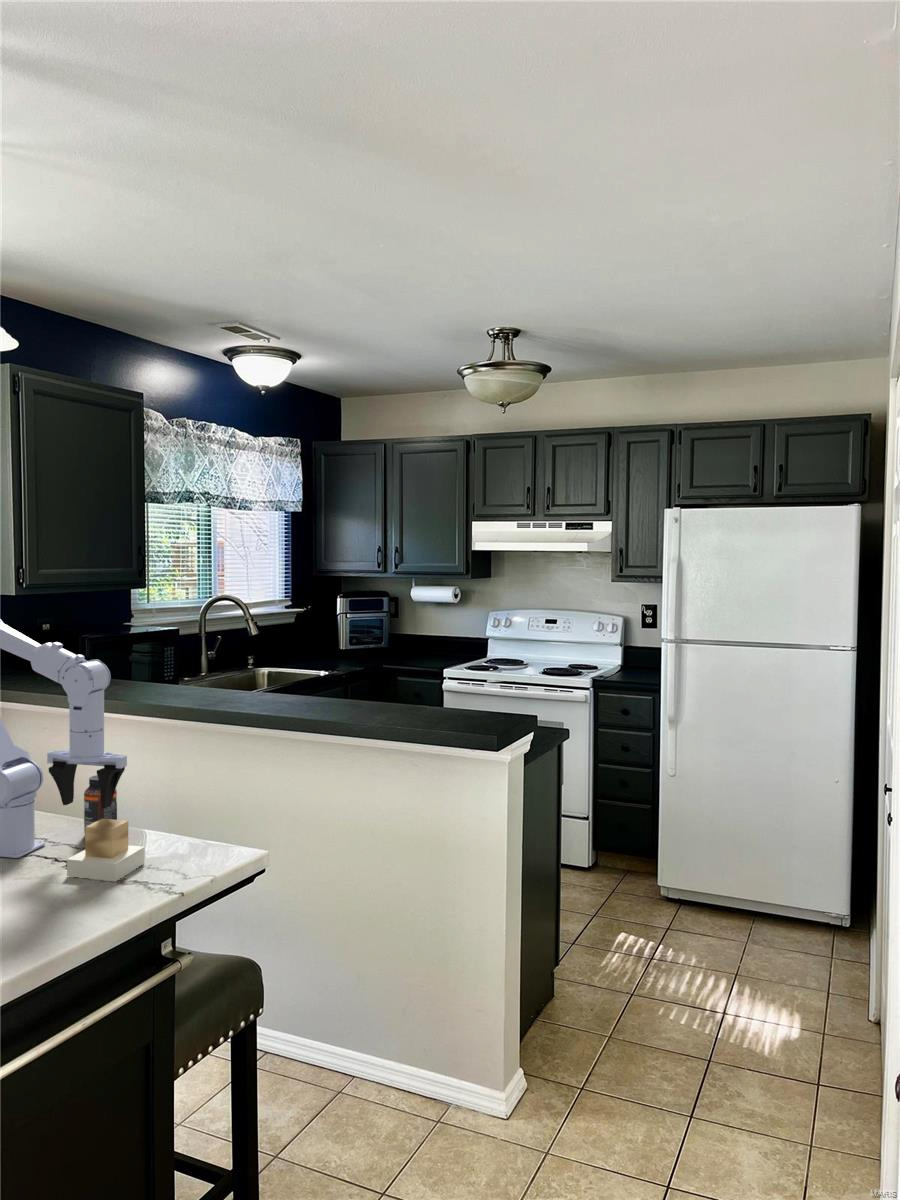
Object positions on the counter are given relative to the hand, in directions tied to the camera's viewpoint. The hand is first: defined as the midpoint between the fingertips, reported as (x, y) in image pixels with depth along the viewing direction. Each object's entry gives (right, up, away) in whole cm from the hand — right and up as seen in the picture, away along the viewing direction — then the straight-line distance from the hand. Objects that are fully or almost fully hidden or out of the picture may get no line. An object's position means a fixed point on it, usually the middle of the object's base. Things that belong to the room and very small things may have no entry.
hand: (87, 805), depth 160 cm
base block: (+6, -10, -6) cm, 13 cm away
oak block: (+6, -7, -6) cm, 11 cm away
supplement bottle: (-3, -9, +13) cm, 16 cm away
